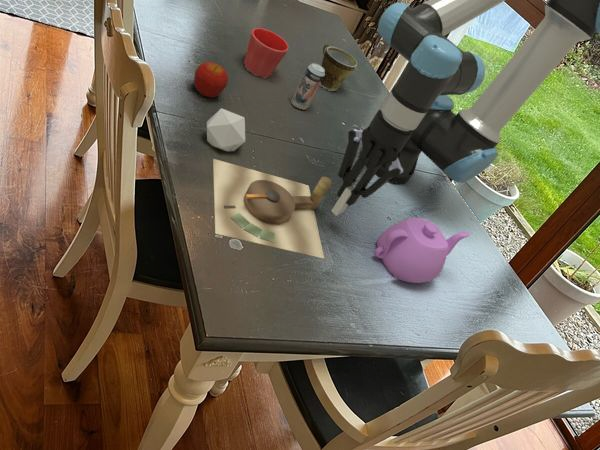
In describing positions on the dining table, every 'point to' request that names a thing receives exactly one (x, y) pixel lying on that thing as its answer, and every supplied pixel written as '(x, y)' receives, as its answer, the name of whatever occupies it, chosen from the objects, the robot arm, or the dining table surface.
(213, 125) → the die
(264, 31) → the flower pot
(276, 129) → the dining table surface
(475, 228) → the dining table surface
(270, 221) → the dial
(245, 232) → the board
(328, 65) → the ceramic cup
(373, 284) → the dining table surface
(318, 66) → the beer can
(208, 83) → the apple
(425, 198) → the dining table surface
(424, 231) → the teapot
